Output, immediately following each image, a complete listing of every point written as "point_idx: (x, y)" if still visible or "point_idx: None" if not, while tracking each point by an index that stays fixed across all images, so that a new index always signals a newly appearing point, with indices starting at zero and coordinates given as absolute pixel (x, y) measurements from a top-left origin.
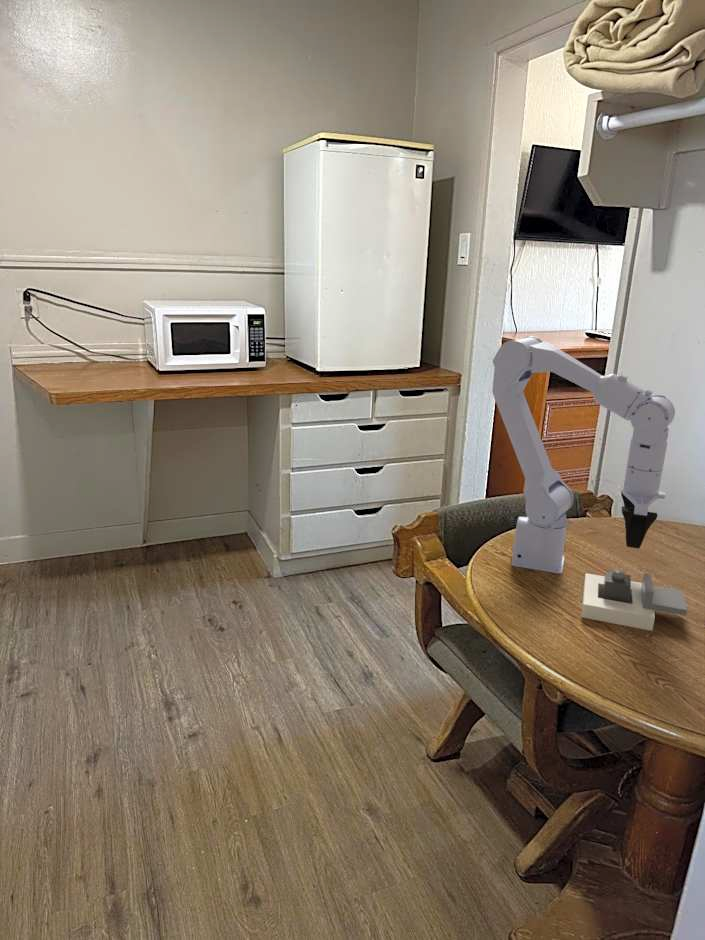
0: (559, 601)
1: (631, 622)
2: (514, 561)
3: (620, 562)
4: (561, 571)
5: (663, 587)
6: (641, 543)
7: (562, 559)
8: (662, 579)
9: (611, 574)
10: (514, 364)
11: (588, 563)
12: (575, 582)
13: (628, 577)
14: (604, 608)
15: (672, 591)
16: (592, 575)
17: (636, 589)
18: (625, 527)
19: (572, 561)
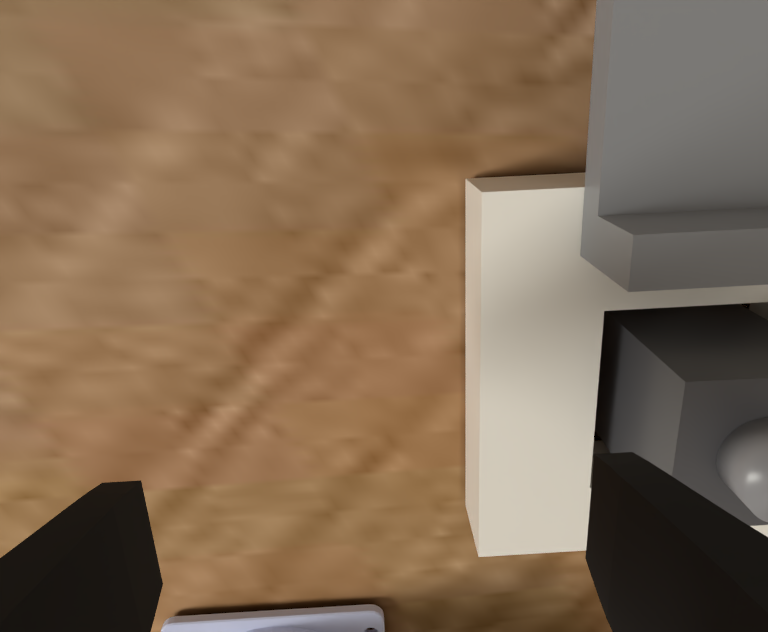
0: None
1: None
2: None
3: (24, 348)
4: (373, 616)
5: (609, 114)
6: (669, 477)
7: (218, 628)
8: (132, 83)
9: (710, 495)
10: None
11: (155, 504)
12: (432, 537)
13: (729, 392)
14: None
15: (660, 45)
16: (494, 523)
17: (597, 282)
18: (152, 616)
19: (179, 574)
